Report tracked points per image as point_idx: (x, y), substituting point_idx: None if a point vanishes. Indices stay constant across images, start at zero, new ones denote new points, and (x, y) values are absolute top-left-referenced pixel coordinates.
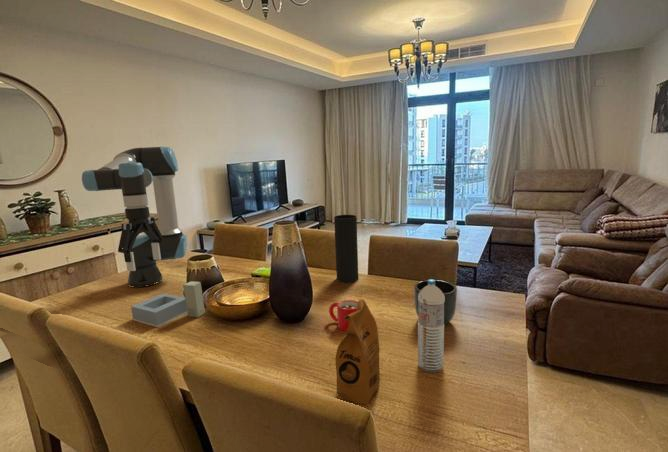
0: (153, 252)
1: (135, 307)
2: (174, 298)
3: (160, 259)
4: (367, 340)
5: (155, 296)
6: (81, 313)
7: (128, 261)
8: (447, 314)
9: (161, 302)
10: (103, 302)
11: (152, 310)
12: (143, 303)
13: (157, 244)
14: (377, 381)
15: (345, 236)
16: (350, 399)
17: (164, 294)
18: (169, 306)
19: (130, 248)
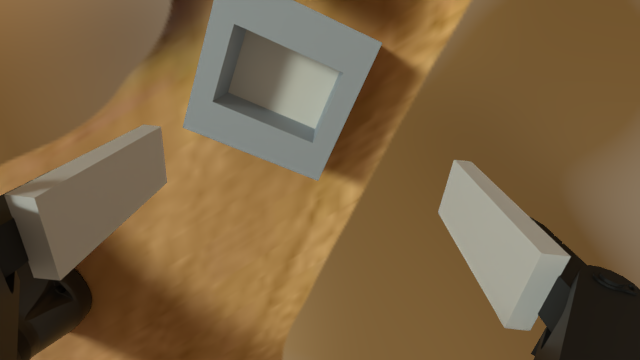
0: (130, 205)
1: (327, 158)
2: (229, 41)
3: (150, 126)
4: None
5: (220, 141)
6: (279, 319)
7: (537, 224)
8: None
9: (237, 105)
10: (206, 311)
11: (359, 70)
12: (291, 149)
13: (50, 192)
14: None
15: None
16: None
17: (194, 114)
18: (318, 13)
19: (615, 304)
